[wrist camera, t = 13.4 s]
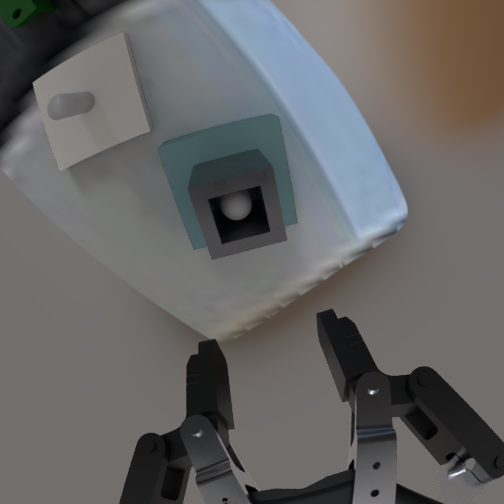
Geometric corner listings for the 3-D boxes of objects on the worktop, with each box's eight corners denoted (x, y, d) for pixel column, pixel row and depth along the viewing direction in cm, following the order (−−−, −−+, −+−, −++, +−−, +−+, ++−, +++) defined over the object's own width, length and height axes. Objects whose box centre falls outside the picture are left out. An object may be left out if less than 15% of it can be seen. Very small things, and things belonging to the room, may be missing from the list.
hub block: (163, 142, 23) (143, 163, 16) (271, 113, 23) (297, 123, 16) (195, 234, 28) (191, 284, 21) (289, 209, 28) (315, 252, 21)
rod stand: (40, 82, 16) (1, 86, 11) (127, 34, 16) (102, 19, 11) (66, 167, 22) (33, 190, 16) (153, 129, 22) (135, 141, 16)
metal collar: (193, 165, 21) (187, 189, 16) (257, 148, 21) (273, 167, 16) (211, 221, 24) (211, 259, 19) (270, 206, 24) (286, 240, 19)
